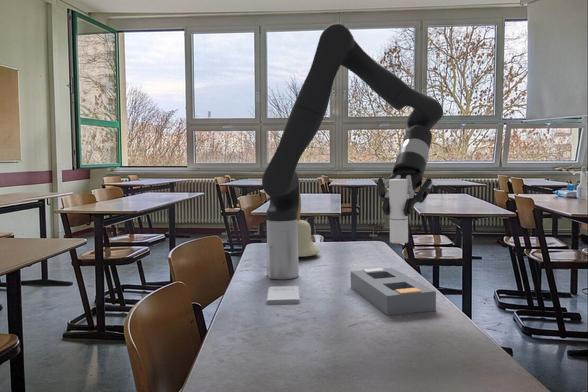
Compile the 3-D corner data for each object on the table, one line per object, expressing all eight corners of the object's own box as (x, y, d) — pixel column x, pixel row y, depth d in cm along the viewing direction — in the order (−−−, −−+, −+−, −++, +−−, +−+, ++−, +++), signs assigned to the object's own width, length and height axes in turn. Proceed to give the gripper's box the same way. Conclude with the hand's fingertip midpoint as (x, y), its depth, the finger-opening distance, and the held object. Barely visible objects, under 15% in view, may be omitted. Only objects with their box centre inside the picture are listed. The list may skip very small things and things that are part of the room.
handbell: (269, 258, 171) (266, 187, 169) (291, 250, 183) (290, 185, 181) (306, 262, 163) (304, 188, 160) (327, 254, 175) (326, 185, 173)
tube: (408, 243, 113) (408, 179, 112) (389, 243, 114) (389, 180, 113) (407, 240, 118) (407, 178, 116) (389, 240, 118) (389, 179, 117)
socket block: (435, 310, 110) (435, 289, 110) (387, 315, 108) (387, 294, 107) (391, 283, 134) (391, 266, 133) (350, 287, 131) (350, 270, 131)
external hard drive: (266, 306, 118) (268, 291, 131) (300, 305, 119) (298, 291, 131) (266, 299, 118) (268, 286, 131) (299, 299, 118) (298, 285, 131)
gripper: (381, 151, 124) (363, 202, 115) (437, 149, 116) (422, 204, 107) (388, 170, 129) (371, 221, 120) (442, 170, 121) (429, 224, 112)
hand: (396, 213), depth 113 cm, fingers closed on tube, 4 cm apart
